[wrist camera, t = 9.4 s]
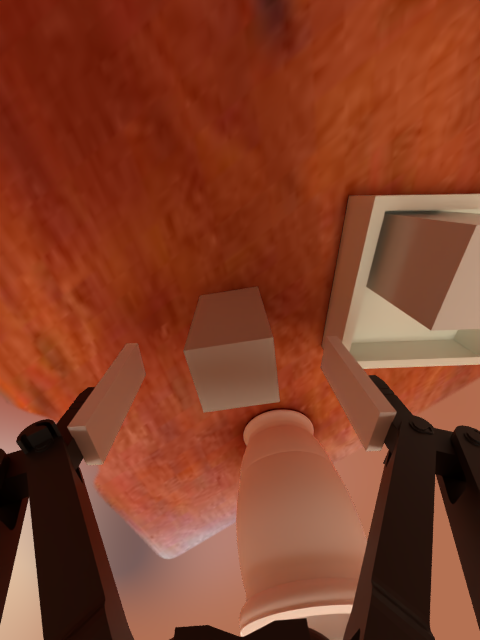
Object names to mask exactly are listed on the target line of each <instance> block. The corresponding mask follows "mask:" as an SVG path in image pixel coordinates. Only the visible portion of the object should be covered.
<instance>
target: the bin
mask: <svg viewBox="0 0 480 640" xmlns="http://www.w3.org/2000/svg"><path fill="white" fill-rule="evenodd" d="M397 211H451V212H464V213H477V214H480V193H475V194H415V195H355V196H349V197H348V203H347V208H346V214H345V219H344V225H343V230H342V236H341V241H340V247H339V252H338V258H337V263H336V269H335V274H334V280H333V285H332V291H331V296H330V302H329V307H328V313H327V318H326V324H325V329H324V335H323V340H322V348H323V350H324V346H325V340H326V337H327V336H337V337H338V338H339V339H340V341H341V342H342V343H343V345H344V346H345V347H346V348H347V350H348V351H349V352H350V353H351V355H352V356H353V357H354V358H355V360H356V361H357V362H358V364H359V365H360V366H361V367H362V369H368V368H395V367H422V366H449V365H476V364H480V329H465V330H435V331H431V330H429V329H428V328H426V327H425V326H423V325H422V324H420V323H419V322H418V321H416V320H415V319H413V318H412V317H410V316H409V315H407V314H406V313H404V312H403V311H401V310H400V309H398V308H397V307H395V306H394V305H392V304H391V303H389V302H388V301H386V300H385V299H384V298H382V297H381V296H379V295H378V294H376V293H375V292H373V291H372V290H370V289H369V288H367V287H366V285H367V281H368V277H369V273H370V269H371V265H372V261H373V257H374V253H375V249H376V245H377V241H378V238H379V234H380V230H381V226H382V222H383V218H384V214H385V212H397Z"/></svg>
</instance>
